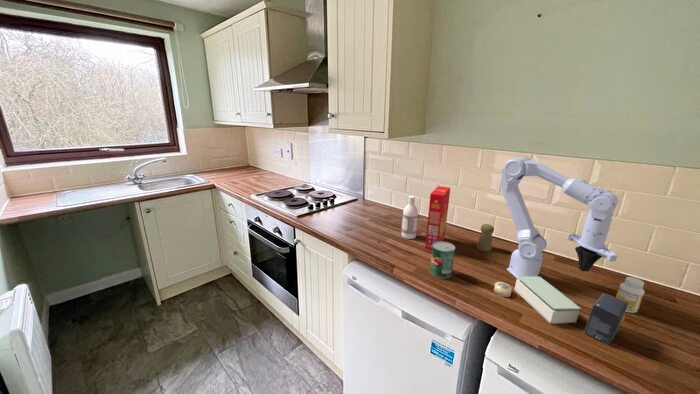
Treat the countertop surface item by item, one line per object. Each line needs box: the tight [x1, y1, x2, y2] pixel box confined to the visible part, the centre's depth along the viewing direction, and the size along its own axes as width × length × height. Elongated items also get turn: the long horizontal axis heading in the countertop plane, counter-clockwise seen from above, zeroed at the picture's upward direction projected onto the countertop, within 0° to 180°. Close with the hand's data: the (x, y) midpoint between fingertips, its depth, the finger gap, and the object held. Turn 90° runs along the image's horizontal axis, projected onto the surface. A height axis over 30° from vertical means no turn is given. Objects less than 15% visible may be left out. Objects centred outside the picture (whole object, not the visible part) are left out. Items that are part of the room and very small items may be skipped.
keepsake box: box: [513, 278, 580, 325], centre depth 88 cm, size 16×8×4 cm, turn 5°
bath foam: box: [401, 195, 419, 240], centre depth 133 cm, size 7×7×20 cm
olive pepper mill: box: [476, 223, 495, 252], centre depth 123 cm, size 6×6×11 cm
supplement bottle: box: [615, 276, 645, 314], centre depth 86 cm, size 5×5×10 cm
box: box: [583, 292, 628, 346], centre depth 76 cm, size 9×6×10 cm, turn 126°
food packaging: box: [424, 185, 451, 251], centre depth 125 cm, size 15×5×25 cm, turn 151°
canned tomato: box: [429, 240, 456, 279], centre depth 104 cm, size 8×8×11 cm
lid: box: [518, 276, 582, 311], centre depth 87 cm, size 16×8×1 cm, turn 5°
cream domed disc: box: [493, 281, 513, 298], centre depth 94 cm, size 5×5×2 cm
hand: (583, 270), depth 90 cm, fingers closed
